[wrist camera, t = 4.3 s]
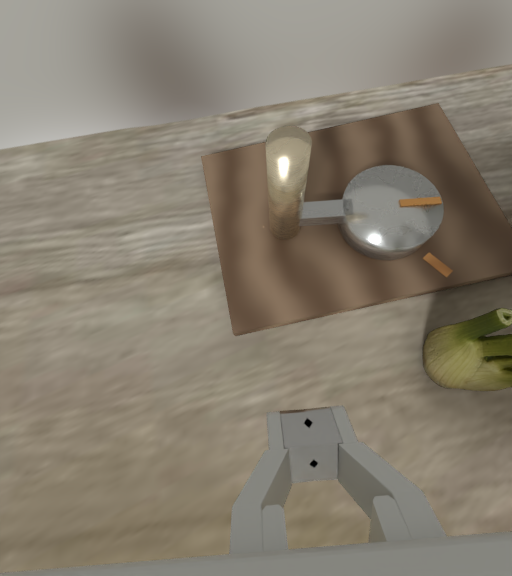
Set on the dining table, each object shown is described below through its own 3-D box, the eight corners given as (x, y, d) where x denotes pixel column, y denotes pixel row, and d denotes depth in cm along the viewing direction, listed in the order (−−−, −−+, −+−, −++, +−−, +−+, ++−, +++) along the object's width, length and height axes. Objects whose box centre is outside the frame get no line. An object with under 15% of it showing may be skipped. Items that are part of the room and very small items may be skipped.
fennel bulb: (408, 336, 30) (488, 306, 18) (455, 329, 29) (566, 294, 18) (427, 395, 28) (530, 403, 16) (477, 387, 27) (617, 390, 16)
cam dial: (418, 180, 33) (489, 76, 22) (438, 257, 30) (534, 181, 19) (268, 191, 35) (262, 97, 23) (272, 267, 31) (268, 200, 20)
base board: (432, 113, 39) (438, 102, 37) (523, 272, 31) (535, 266, 29) (203, 164, 39) (200, 155, 37) (235, 336, 31) (233, 333, 29)
